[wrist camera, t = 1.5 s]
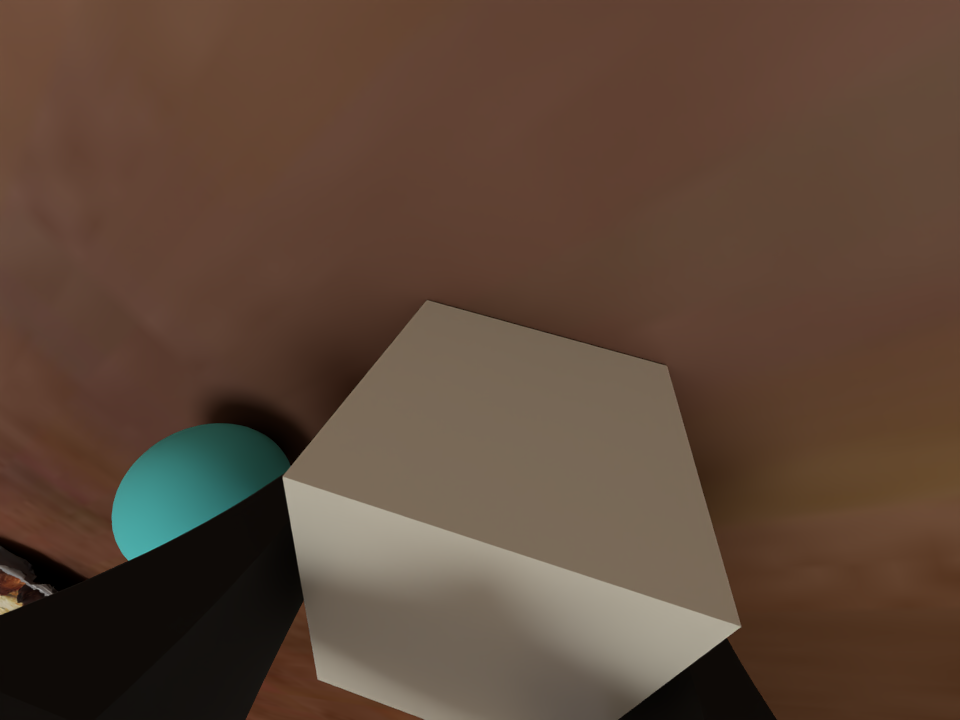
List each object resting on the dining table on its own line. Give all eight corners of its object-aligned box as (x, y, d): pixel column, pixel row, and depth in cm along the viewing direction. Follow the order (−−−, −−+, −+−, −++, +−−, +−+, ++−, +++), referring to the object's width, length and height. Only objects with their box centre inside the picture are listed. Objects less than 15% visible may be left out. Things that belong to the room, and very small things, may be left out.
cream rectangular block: (566, 544, 14) (554, 767, 10) (405, 493, 15) (318, 679, 10) (666, 365, 10) (741, 626, 5) (426, 299, 10) (282, 476, 5)
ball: (325, 503, 17) (239, 634, 13) (217, 467, 17) (101, 583, 13) (318, 417, 14) (203, 551, 10) (189, 377, 14) (28, 489, 10)
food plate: (115, 573, 28) (59, 627, 25) (211, 686, 41) (182, 729, 38) (-142, 476, 32) (-215, 513, 29) (22, 608, 45) (-17, 642, 42)
